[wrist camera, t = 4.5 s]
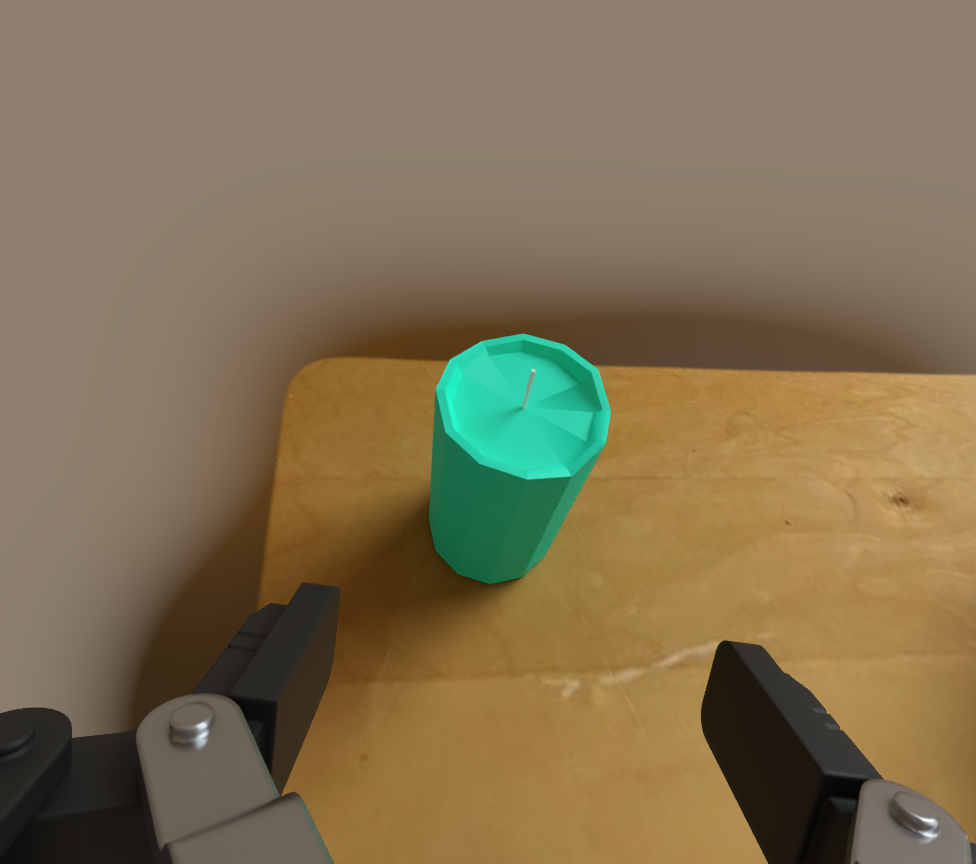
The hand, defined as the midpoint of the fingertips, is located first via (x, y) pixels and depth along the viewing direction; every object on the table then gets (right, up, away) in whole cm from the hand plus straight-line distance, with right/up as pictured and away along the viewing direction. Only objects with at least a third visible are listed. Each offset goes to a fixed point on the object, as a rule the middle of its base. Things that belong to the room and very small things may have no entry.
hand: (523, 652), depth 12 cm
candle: (-1, 0, +16) cm, 16 cm away
